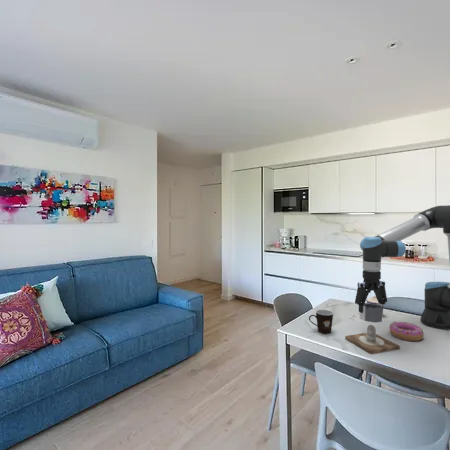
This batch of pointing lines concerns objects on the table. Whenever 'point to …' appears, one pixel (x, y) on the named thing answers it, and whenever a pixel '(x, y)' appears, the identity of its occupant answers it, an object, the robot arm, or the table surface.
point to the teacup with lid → (373, 301)
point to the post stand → (372, 341)
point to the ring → (373, 312)
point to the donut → (406, 331)
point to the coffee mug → (323, 321)
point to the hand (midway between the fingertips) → (370, 318)
